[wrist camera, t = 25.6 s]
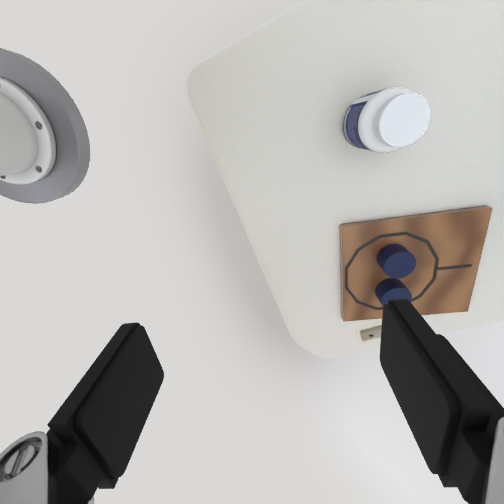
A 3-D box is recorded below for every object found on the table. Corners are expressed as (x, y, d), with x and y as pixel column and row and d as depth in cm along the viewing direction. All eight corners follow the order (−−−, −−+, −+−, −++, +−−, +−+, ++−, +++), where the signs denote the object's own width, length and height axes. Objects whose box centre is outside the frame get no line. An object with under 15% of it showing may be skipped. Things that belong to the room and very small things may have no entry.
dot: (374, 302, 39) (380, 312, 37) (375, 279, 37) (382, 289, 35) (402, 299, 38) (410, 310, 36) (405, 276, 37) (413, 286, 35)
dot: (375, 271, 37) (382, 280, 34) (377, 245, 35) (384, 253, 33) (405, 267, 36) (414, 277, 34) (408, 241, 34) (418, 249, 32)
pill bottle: (357, 157, 31) (391, 170, 23) (331, 121, 30) (356, 119, 21) (399, 123, 29) (453, 122, 21) (373, 82, 28) (420, 63, 19)
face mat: (341, 317, 42) (343, 322, 41) (340, 224, 35) (342, 227, 34) (463, 307, 40) (468, 311, 39) (486, 205, 33) (493, 208, 32)
